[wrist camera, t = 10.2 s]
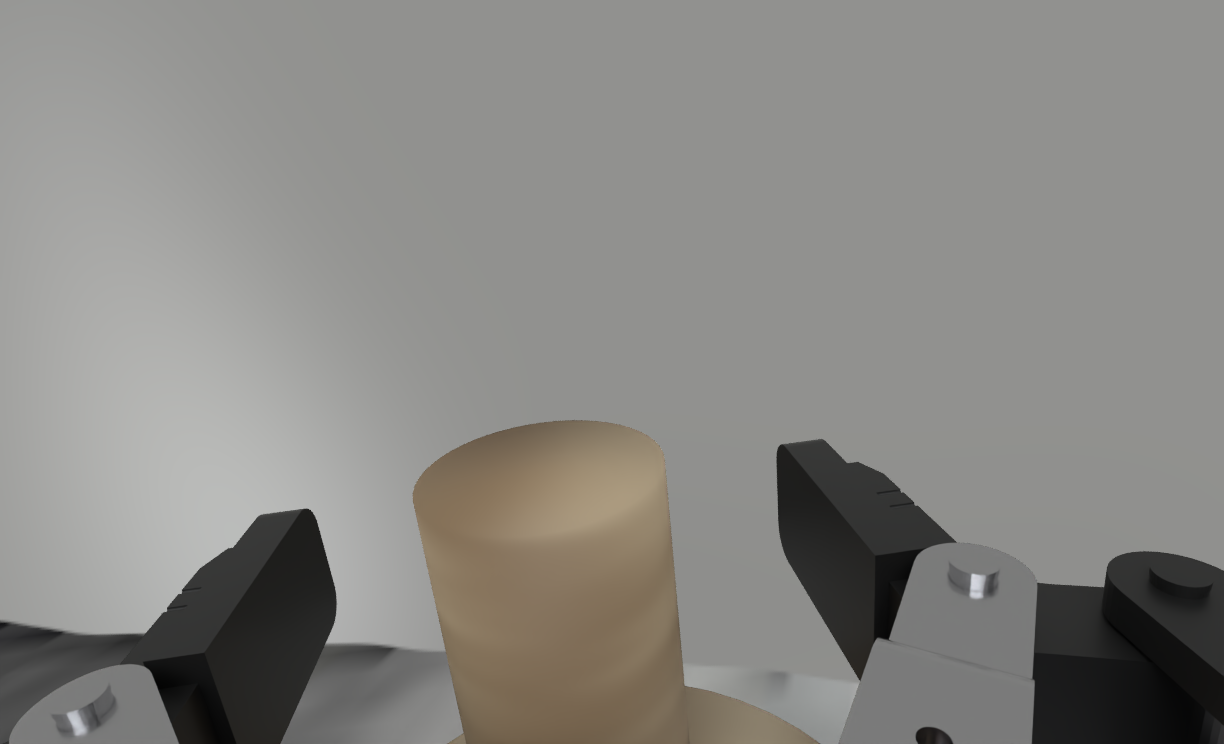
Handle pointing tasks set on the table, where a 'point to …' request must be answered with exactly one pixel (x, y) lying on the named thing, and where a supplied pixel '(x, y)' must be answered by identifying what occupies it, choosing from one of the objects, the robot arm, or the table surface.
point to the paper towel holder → (567, 593)
